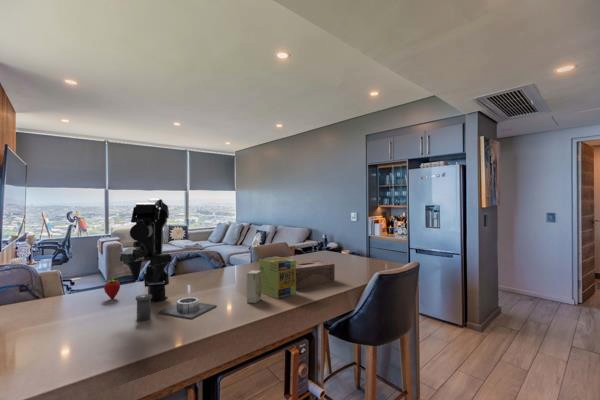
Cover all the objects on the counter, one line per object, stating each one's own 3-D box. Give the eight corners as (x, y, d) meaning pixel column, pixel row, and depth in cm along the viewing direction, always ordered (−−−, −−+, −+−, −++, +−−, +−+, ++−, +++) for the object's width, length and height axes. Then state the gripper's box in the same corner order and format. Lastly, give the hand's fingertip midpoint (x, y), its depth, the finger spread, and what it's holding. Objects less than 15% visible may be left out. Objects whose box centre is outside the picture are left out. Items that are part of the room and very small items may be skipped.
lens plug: (131, 320, 103) (132, 297, 103) (144, 315, 108) (144, 293, 108) (142, 322, 101) (142, 299, 101) (155, 317, 106) (155, 295, 106)
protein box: (278, 299, 126) (278, 263, 127) (258, 291, 138) (258, 258, 138) (296, 294, 133) (296, 260, 134) (276, 287, 145) (276, 255, 145)
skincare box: (256, 303, 121) (256, 273, 121) (246, 302, 121) (246, 273, 122) (261, 298, 127) (261, 270, 127) (251, 298, 128) (251, 269, 128)
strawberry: (103, 303, 122) (103, 278, 122) (104, 298, 128) (104, 275, 128) (120, 300, 125) (120, 277, 125) (120, 296, 131) (120, 273, 131)
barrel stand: (157, 313, 110) (157, 303, 110) (185, 301, 123) (185, 293, 123) (191, 319, 104) (191, 308, 104) (216, 306, 117) (216, 297, 117)
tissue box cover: (290, 289, 141) (290, 269, 141) (278, 283, 154) (278, 264, 154) (334, 283, 154) (334, 263, 154) (319, 277, 166) (319, 259, 166)
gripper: (105, 239, 101) (105, 285, 101) (146, 241, 94) (146, 290, 94) (134, 236, 111) (134, 277, 111) (172, 238, 105) (172, 282, 104)
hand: (145, 281), depth 105 cm, fingers open, 9 cm apart
